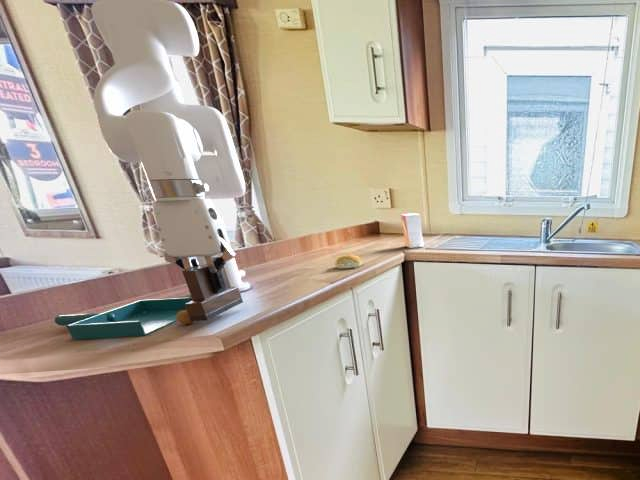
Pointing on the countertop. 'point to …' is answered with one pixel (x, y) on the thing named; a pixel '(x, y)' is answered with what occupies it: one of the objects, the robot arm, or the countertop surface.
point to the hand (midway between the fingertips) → (212, 291)
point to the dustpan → (124, 319)
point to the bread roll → (348, 261)
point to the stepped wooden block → (208, 294)
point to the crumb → (184, 317)
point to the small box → (412, 230)
